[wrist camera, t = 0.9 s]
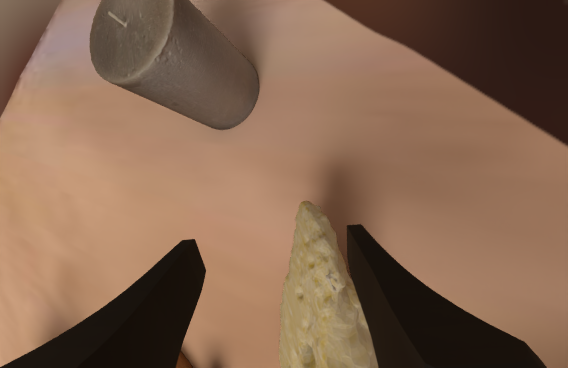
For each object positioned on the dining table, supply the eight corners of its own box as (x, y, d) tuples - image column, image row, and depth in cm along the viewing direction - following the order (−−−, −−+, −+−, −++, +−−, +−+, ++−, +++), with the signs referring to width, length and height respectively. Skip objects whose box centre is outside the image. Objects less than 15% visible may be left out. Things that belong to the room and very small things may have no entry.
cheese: (359, 402, 26) (494, 412, 15) (293, 433, 23) (396, 476, 12) (309, 256, 34) (371, 189, 23) (256, 266, 31) (295, 196, 20)
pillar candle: (187, 116, 36) (57, 59, 22) (214, 48, 35) (97, -56, 21) (241, 141, 32) (125, 92, 18) (273, 66, 31) (177, -46, 17)
